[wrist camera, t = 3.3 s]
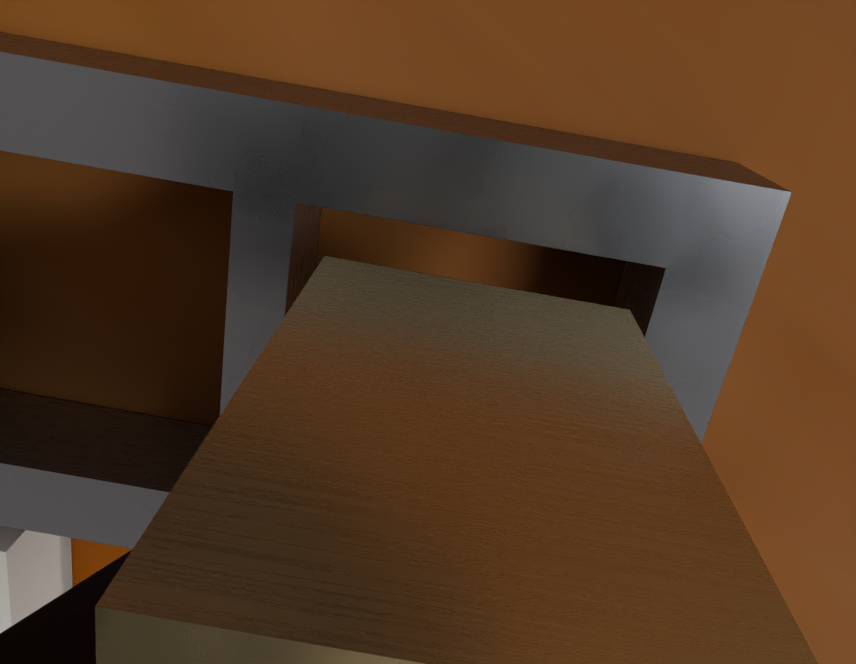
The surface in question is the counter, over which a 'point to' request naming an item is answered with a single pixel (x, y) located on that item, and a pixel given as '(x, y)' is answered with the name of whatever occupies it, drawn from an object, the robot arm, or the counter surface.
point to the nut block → (447, 498)
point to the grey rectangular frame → (364, 194)
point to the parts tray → (31, 572)
